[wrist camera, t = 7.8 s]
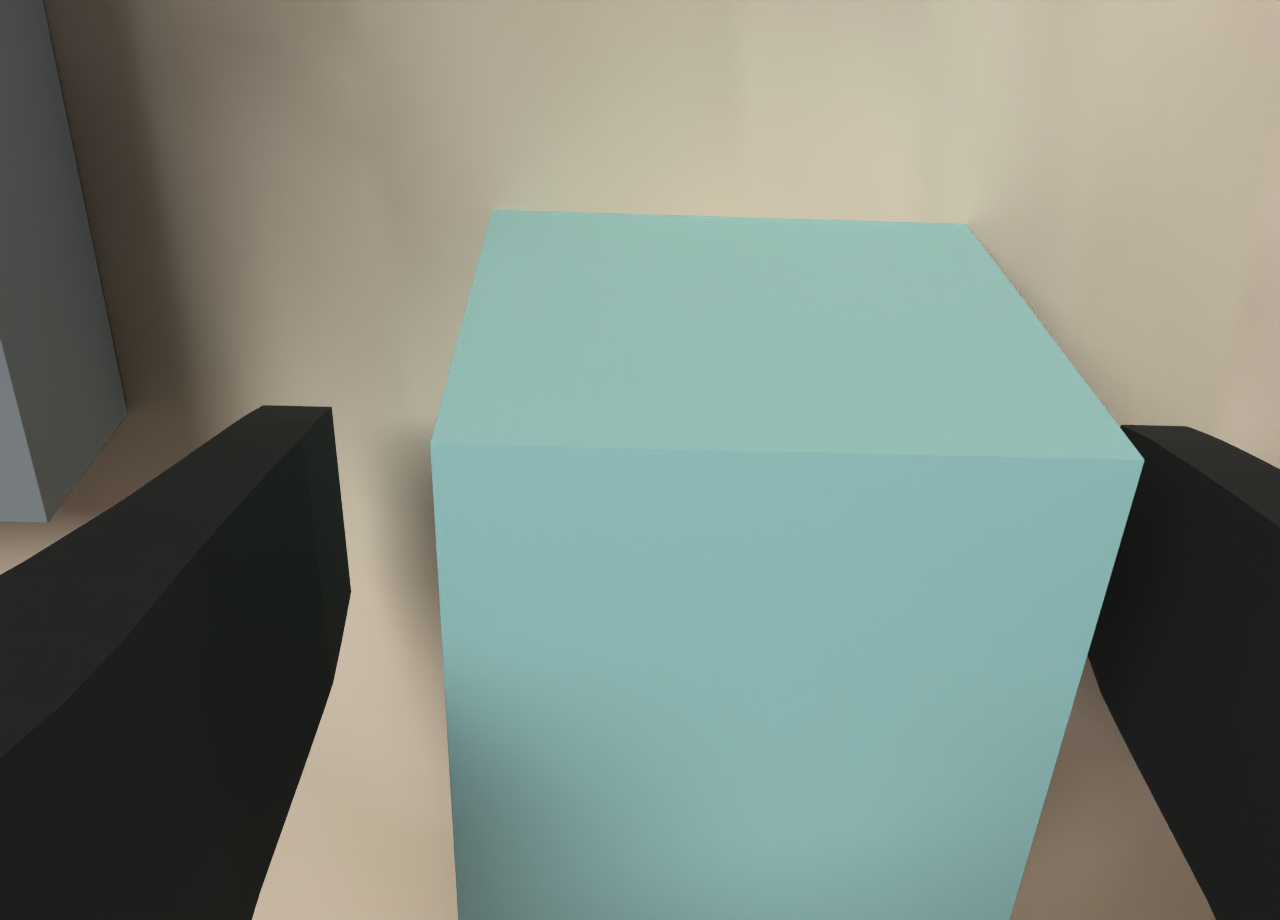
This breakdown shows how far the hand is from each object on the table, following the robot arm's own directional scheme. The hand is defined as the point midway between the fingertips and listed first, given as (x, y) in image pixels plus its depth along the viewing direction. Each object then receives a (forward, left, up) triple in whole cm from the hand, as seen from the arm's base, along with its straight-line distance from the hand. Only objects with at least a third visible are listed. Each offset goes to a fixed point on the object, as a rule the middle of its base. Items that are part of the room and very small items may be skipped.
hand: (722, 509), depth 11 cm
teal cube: (0, 0, -2) cm, 2 cm away
